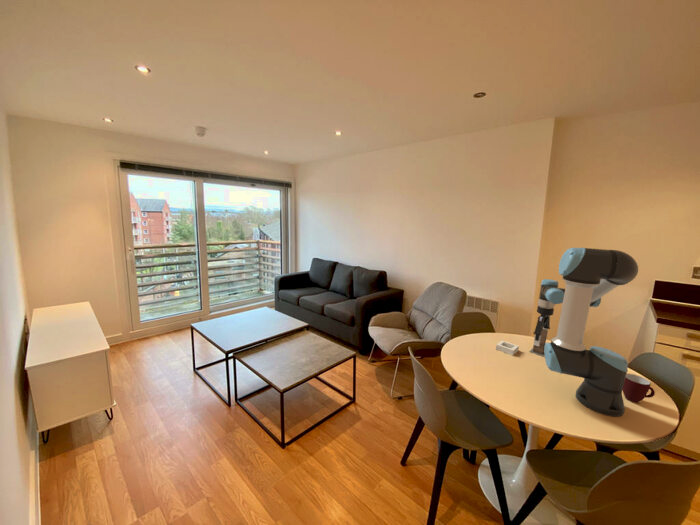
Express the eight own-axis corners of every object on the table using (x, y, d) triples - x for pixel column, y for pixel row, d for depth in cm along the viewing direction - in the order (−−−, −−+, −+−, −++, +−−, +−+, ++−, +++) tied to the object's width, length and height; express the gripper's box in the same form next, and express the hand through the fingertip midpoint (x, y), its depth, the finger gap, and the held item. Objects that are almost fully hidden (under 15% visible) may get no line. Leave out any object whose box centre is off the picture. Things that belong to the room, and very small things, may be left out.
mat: (543, 356, 152) (543, 356, 152) (529, 351, 158) (529, 351, 158) (547, 353, 157) (547, 352, 157) (533, 348, 162) (533, 347, 162)
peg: (541, 354, 154) (545, 332, 152) (532, 351, 157) (536, 329, 155) (543, 352, 157) (547, 330, 155) (534, 349, 160) (538, 327, 158)
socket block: (512, 355, 152) (513, 350, 152) (495, 349, 159) (496, 344, 159) (518, 350, 158) (519, 346, 158) (501, 345, 165) (502, 340, 164)
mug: (641, 396, 120) (646, 375, 118) (658, 408, 112) (663, 387, 111) (614, 392, 122) (618, 372, 120) (628, 404, 114) (633, 382, 113)
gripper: (547, 313, 142) (541, 351, 145) (559, 304, 158) (553, 338, 162) (531, 309, 147) (525, 345, 151) (544, 301, 163) (538, 334, 167)
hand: (539, 342), depth 156 cm, fingers open, 13 cm apart
